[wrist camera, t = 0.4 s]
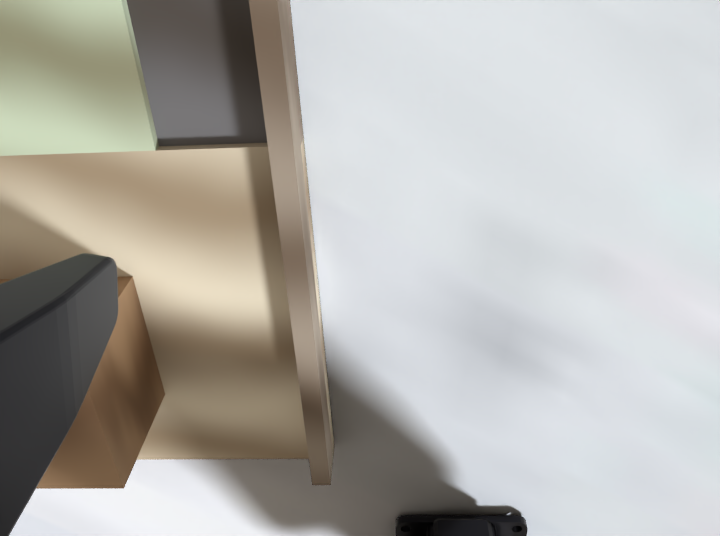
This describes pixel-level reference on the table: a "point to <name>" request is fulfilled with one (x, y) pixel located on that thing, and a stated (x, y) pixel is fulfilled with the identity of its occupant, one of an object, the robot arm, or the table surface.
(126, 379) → the walnut block
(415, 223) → the table surface
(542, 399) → the table surface
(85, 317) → the robot arm
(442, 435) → the table surface
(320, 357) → the trap board
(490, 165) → the table surface
